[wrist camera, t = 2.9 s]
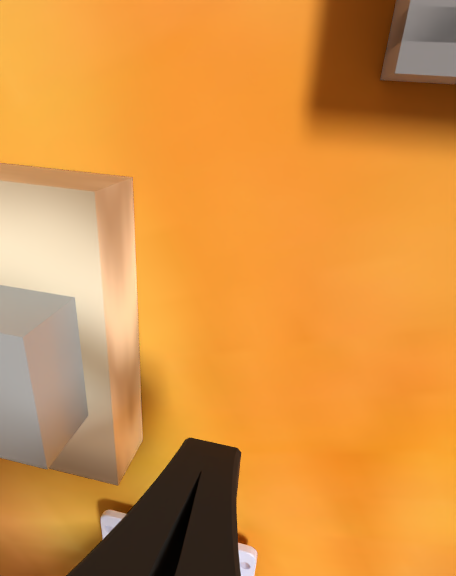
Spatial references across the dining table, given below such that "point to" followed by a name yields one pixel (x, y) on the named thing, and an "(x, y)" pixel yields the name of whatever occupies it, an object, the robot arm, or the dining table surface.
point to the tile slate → (39, 375)
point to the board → (83, 296)
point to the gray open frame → (422, 42)
